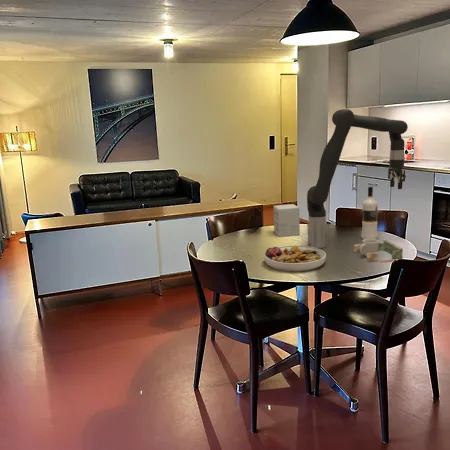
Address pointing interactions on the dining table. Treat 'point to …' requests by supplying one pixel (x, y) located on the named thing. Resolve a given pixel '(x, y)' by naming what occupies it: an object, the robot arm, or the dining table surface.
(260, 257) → the dining table surface
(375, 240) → the cup
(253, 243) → the dining table surface
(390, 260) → the trap mat
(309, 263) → the bowl
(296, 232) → the supplement box
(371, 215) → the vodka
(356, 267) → the dining table surface
